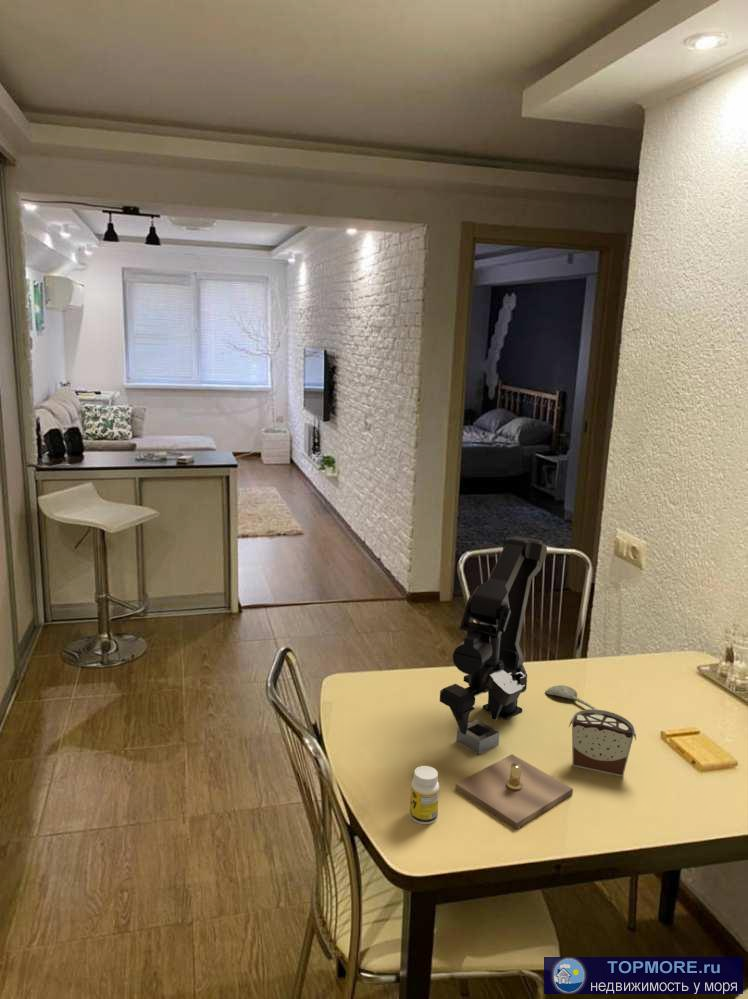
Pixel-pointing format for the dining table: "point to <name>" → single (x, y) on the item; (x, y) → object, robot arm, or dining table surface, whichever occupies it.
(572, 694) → the soupspoon
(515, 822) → the keeper board
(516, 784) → the keeper peg
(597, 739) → the slice of cake
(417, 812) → the supplement bottle
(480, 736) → the grey square ring
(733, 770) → the dining table surface
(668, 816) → the dining table surface
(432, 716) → the dining table surface
